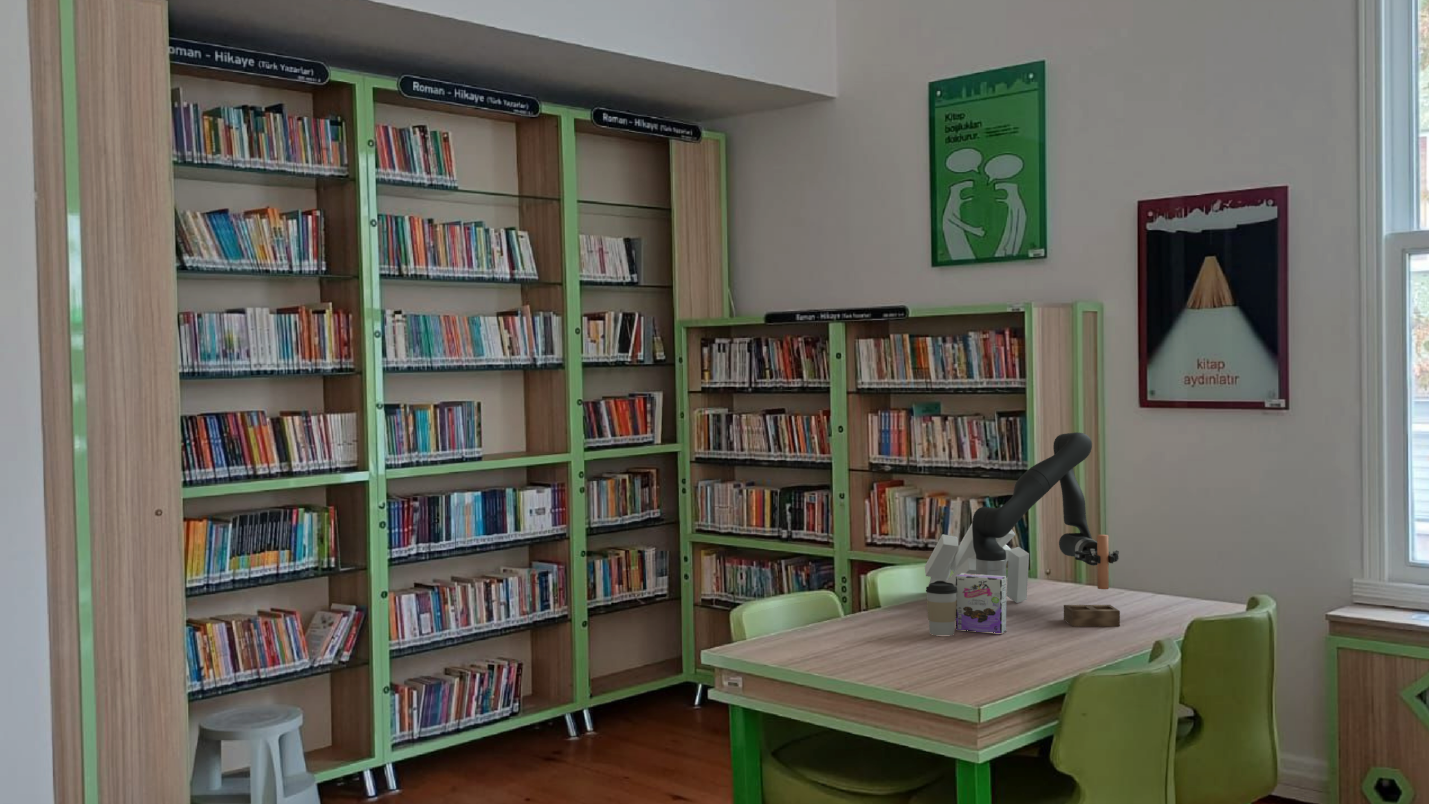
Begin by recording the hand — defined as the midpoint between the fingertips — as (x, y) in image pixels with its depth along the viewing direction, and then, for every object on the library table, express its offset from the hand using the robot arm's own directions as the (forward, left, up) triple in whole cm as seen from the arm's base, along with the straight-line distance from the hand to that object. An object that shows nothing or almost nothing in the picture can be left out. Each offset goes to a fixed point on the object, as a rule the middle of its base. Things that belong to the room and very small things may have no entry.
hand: (1105, 559), depth 373 cm
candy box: (-39, -8, -20) cm, 44 cm away
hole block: (-4, +3, -19) cm, 20 cm away
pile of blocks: (-32, +40, -20) cm, 54 cm away
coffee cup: (-51, -12, -20) cm, 56 cm away
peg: (0, +3, -9) cm, 9 cm away
